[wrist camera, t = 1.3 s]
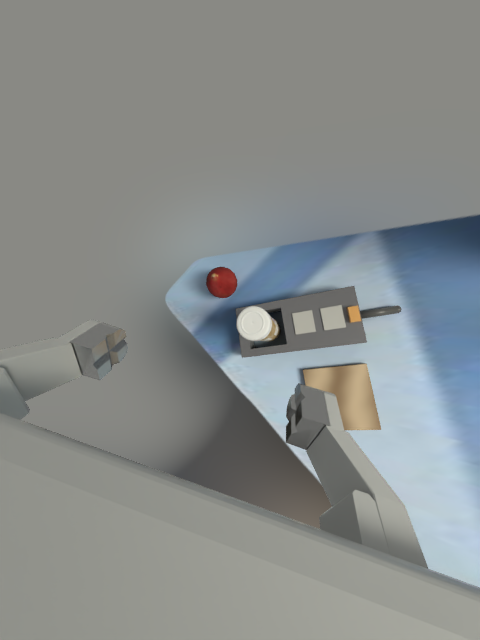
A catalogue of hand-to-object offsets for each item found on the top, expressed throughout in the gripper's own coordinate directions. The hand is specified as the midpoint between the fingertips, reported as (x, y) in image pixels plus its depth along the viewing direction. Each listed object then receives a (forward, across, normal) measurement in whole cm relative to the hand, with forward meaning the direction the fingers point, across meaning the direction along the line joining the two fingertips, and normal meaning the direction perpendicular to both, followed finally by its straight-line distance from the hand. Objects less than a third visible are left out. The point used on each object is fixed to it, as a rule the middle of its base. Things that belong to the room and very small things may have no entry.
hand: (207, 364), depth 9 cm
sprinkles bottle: (+27, -4, +14) cm, 31 cm away
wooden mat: (+19, -18, +19) cm, 33 cm away
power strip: (+27, -12, +10) cm, 31 cm away
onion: (+32, +6, +11) cm, 34 cm away
